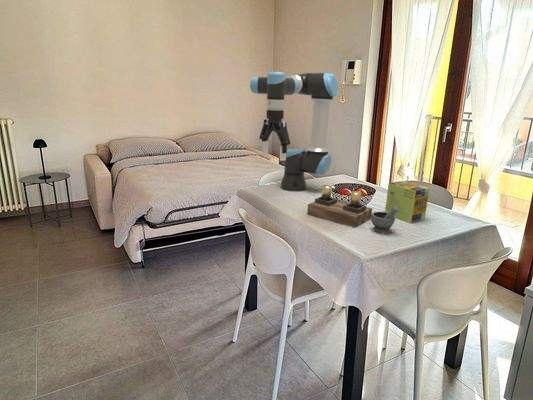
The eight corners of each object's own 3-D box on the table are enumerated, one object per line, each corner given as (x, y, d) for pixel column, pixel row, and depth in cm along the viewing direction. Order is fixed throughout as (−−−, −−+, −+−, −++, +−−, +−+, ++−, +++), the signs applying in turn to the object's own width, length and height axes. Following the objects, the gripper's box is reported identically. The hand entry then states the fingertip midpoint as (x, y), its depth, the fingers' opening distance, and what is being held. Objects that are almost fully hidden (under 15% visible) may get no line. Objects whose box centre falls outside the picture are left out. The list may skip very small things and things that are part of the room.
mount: (324, 206, 191) (325, 193, 189) (371, 218, 176) (372, 204, 174) (307, 214, 179) (308, 200, 177) (355, 227, 164) (356, 212, 162)
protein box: (411, 223, 171) (416, 190, 167) (384, 213, 183) (388, 182, 179) (425, 219, 177) (430, 187, 172) (398, 210, 189) (402, 180, 184)
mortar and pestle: (365, 229, 162) (368, 203, 159) (377, 224, 169) (380, 199, 165) (389, 237, 155) (393, 209, 151) (400, 232, 161) (404, 205, 157)
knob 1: (324, 194, 183) (325, 184, 181) (332, 196, 180) (333, 186, 179) (319, 196, 179) (320, 186, 178) (328, 198, 177) (328, 187, 175)
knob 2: (352, 200, 174) (354, 190, 172) (361, 203, 171) (362, 192, 169) (348, 203, 170) (349, 192, 169) (357, 205, 168) (358, 194, 166)
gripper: (252, 107, 172) (251, 153, 178) (285, 111, 152) (283, 163, 159) (266, 107, 176) (265, 152, 182) (300, 111, 156) (297, 161, 163)
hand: (273, 157), depth 170 cm, fingers open, 13 cm apart
